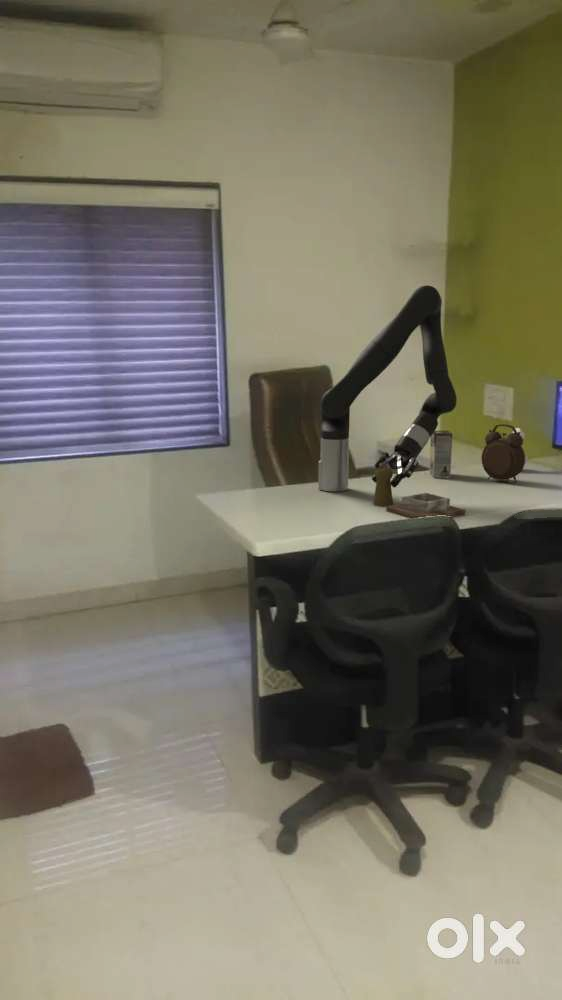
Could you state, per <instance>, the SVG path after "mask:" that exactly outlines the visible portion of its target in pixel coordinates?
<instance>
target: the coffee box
mask: <svg viewBox="0 0 562 1000" xmlns="http://www.w3.org/2000/svg"><path fill="white" fill-rule="evenodd" d="M452 451H453V433H452V432H450V431H449V430H435V431H434V433H433V434H432V435H431V437H430V454H429V455H430V456H429V474H430V476H431V475H432V476H431V477H432V479H451V467H452V466H451V465H452ZM443 477H444V478H443ZM446 477H448V478H446Z"/></svg>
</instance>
